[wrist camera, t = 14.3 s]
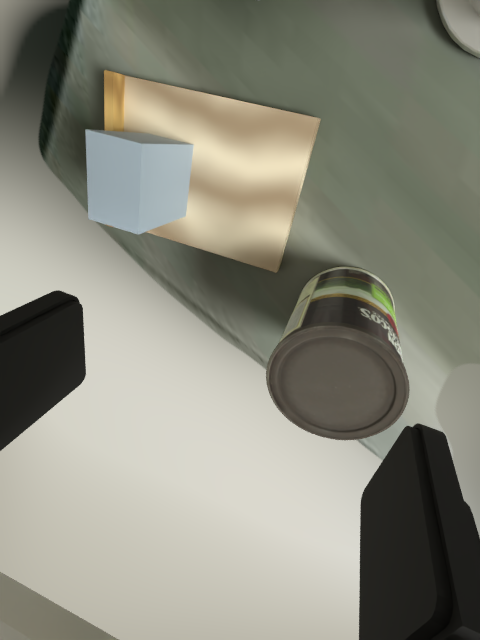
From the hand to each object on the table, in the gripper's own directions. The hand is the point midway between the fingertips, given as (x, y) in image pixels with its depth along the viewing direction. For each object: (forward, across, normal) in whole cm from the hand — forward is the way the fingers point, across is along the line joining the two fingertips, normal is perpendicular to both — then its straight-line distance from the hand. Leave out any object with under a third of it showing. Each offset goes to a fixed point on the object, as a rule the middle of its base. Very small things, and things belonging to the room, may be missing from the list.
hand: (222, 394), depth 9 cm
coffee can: (+28, -5, +9) cm, 30 cm away
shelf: (+28, +13, -1) cm, 31 cm away
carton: (+27, +17, 0) cm, 32 cm away
